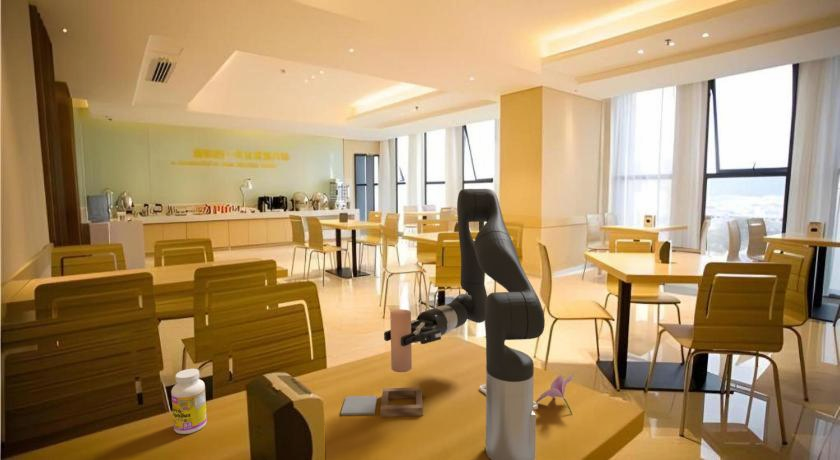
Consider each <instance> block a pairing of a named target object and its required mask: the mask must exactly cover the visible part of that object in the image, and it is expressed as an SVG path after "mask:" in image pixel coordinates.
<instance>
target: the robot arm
mask: <svg viewBox="0 0 840 460" xmlns="http://www.w3.org/2000/svg"><path fill="white" fill-rule="evenodd" d="M456 211H457V213H456V214H457V227H458V241H459V249H460V250H459V251H460V287H461V289H462V290H463V291H464V292H466V293H462V294H458V295H457V296H456V297H455V298H454V299H453V300H452V301H451V302H449V303H447V304H444V305H440V306H439V305H438V306H436V307H432V308H430V309H428V310H424V311H422V312H420V313H419V314H418V315H417V317H416V319H411V333H410V334H408V335H405V336H403V337H401V346H407V345H409V344H411V345H412V344H418V343H420V345H425V344H428V343H432V342H436V341H439V340H442V337H443V335H446V334H448V333H450V332H452V331H453V330H455V329H457V328H459V327H461V326H463V325H464V324H465V323H466V322H467V320H469V321H471V322H474V323H477V324H480V323H484V324H485V326H484V327H485V355H486V356H485V357H486V359H485V360H486V364H485V366H486V369H485V370H486V371H485V374H486V375H485V376H486V377H485V379H486V382H485V384H486V389H485V390H486V394H485V400H486V401H485V402H486V403H485V453H486V455H487V457H488V458H489V459H490V460H536V440H537V439H536V436H537V434H536V433H537V430H536V427H537V415H536V413H535V411H534V408H533V406H534V405H533V401H534V369H535V368H534V367H535V366H534V361H533V359H532V357H531V356H530V355H528V354H527V353H525V352H523V351H522V350H518V349H515V348H512V347H510V346H507V345H506V344H505V342H506V341H514V340H515V341H517V340H518V341H523V340H534V339H537V338H539V337H540V336H542V335H543V334H544V330H545V326H546V325H545V321H546V320H545V315H544V314H545V313H544V309H543V307H542V304H541V301H540V298H539V296H538V294H537V292H536V291H535V289H534V286H533V285H532V283H531V282H530V280H529V278H528V277H527V274H526V273H525V271H524V268H523V266H522V263H521V261H520V258H519V255H518V253H517V250H516V246H515V244H514V242H513V240H512V237H511V235H510V233H509V231H508V228H507V226H506V223H505V221H504V218H503V214H502V209H501V206H500V202H499V198H498V195H497V194H496V192H495V191H494V190H492V189H491V188H490V189H489V188H463V189H461V190H460V191H459V192H458V195H457V202H456ZM472 222H473V223H477V222H479V223H481V222H482V223H485V224H484V225H483V226H482V227H481V229H480V230H479V231H478V232H477V234H476V236H475V238H473V237H472V234H471V230H470V223H472ZM486 276H488V277H489V278H491V280H493V281H494V282H496V283H497V284H499V285H500V286H501V287H502V288H504V289H505V290H506V291H504V292H503V291H499V292H490V293H488V295H487V290H486V284H485V279H486V278H485V277H486ZM383 339H384V341H386V342H389V341H391V329H389V330H386V331H384V334H383Z"/></svg>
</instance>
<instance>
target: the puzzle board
mask: <svg viewBox="0 0 840 460" xmlns="http://www.w3.org/2000/svg"><path fill="white" fill-rule="evenodd" d="M422 393H423V392H422V387H392V388H391V387H388V388H387V387H385V388H382V393H381V400H380V401H381V402H380V411H379V412H380V414H379V415H380V417H382V418H384V417H385V418H386V417H387V418H388V417H422V416H424V415H423V414H424V410H423V409H424V407H423V394H422ZM389 399H415V404H389Z"/></svg>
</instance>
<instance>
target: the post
mask: <svg viewBox="0 0 840 460" xmlns="http://www.w3.org/2000/svg"><path fill="white" fill-rule="evenodd" d="M389 314H390V318H389V319H390V330H391V340H390V366H391V371H392V372H396V373H406V372H407V373H408V372H410V371H411V370H412V369H413V368H412V366H413V364H412V354H413V353H412V343H411V344H409V345H407V346H401V337H403V336H405V335H408V334H410V333H411V321H412V311H411V310H408V309H394V310H392V311H390V312H389Z"/></svg>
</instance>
